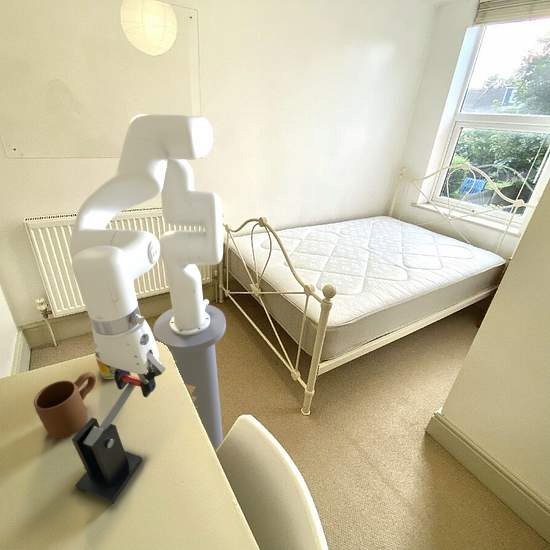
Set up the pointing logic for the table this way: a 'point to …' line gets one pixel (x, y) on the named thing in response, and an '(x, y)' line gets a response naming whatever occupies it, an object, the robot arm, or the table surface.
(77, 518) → the table surface
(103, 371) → the supplement bottle
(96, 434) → the lever
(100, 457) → the bracket
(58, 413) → the mug
